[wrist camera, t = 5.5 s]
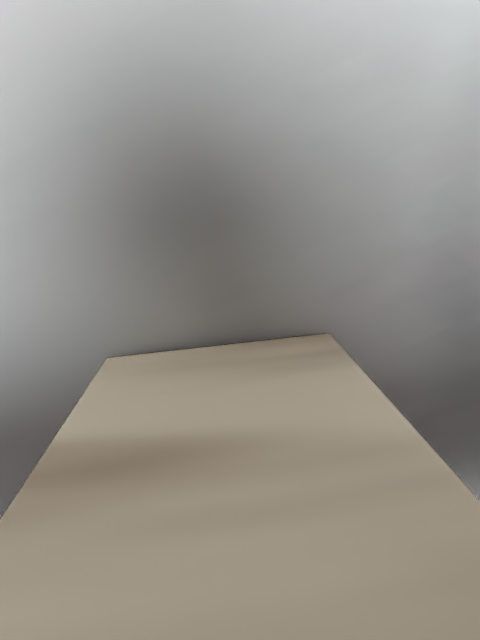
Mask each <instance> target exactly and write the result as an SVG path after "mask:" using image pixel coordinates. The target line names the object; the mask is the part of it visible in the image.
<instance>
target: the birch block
mask: <svg viewBox="0 0 480 640" xmlns="http://www.w3.org/2000/svg"><path fill="white" fill-rule="evenodd" d="M0 640H480V501H479V500H478V499H477V497H476V496H475V495H474V494H473V493H472V492H471V491H470V490H469V489H468V487H467V486H466V485H465V484H464V483H463V482H462V481H461V480H460V478H459V477H458V476H457V475H456V474H455V473H454V472H453V471H452V470H451V468H450V467H449V466H448V465H447V464H446V463H445V462H444V461H443V459H442V458H441V457H440V456H439V455H438V454H437V453H436V452H435V451H434V449H433V448H432V447H431V446H430V445H429V444H428V443H427V442H426V441H425V439H424V438H423V437H422V436H421V435H420V434H419V433H418V432H417V430H416V429H415V428H414V427H413V426H412V425H411V424H410V423H409V422H408V420H407V419H406V418H405V417H404V416H403V415H402V414H401V413H400V411H399V410H398V409H397V408H396V407H395V406H394V405H393V404H392V403H391V401H390V400H389V399H388V398H387V397H386V396H385V395H384V394H383V393H382V391H381V390H380V389H379V388H378V387H377V386H376V385H375V384H374V382H373V381H372V380H371V379H370V378H369V377H368V376H367V375H366V374H365V372H364V371H363V370H362V369H361V368H360V367H359V366H358V365H357V363H356V362H355V361H354V360H353V359H352V358H351V357H350V356H349V355H348V353H347V352H346V351H345V350H344V349H343V348H342V347H341V346H340V345H339V343H338V342H337V341H336V340H335V339H334V338H333V337H332V336H331V334H330V333H328V334H319V335H310V336H301V337H292V338H283V339H274V340H265V341H256V342H247V343H238V344H229V345H220V346H211V347H202V348H193V349H184V350H175V351H166V352H157V353H148V354H139V355H130V356H121V357H112V358H107V359H106V360H105V362H104V363H103V365H102V366H101V368H100V369H99V371H98V372H97V374H96V375H95V377H94V378H93V380H92V381H91V383H90V384H89V386H88V387H87V389H86V390H85V392H84V394H83V395H82V397H81V398H80V400H79V401H78V403H77V404H76V406H75V407H74V409H73V410H72V412H71V413H70V415H69V416H68V418H67V419H66V421H65V422H64V424H63V425H62V427H61V428H60V430H59V431H58V433H57V434H56V436H55V437H54V439H53V440H52V442H51V443H50V445H49V446H48V448H47V449H46V451H45V453H44V454H43V456H42V457H41V459H40V460H39V462H38V463H37V465H36V466H35V468H34V469H33V471H32V472H31V474H30V475H29V477H28V478H27V480H26V481H25V483H24V484H23V486H22V487H21V489H20V490H19V492H18V493H17V495H16V496H15V498H14V499H13V501H12V502H11V504H10V505H9V507H8V508H7V510H6V512H5V513H4V515H3V516H2V518H1V519H0Z"/></svg>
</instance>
